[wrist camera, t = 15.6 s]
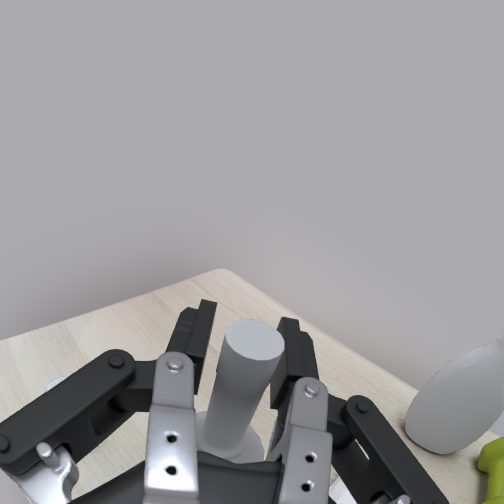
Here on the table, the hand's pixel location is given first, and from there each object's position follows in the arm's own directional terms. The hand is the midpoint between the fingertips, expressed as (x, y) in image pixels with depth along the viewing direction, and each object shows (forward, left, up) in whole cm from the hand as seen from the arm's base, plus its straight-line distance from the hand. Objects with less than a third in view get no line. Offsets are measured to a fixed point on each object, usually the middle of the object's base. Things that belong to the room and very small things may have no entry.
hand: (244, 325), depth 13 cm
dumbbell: (+1, -43, -26) cm, 50 cm away
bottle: (-3, 0, -23) cm, 23 cm away
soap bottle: (+14, -33, -26) cm, 44 cm away
